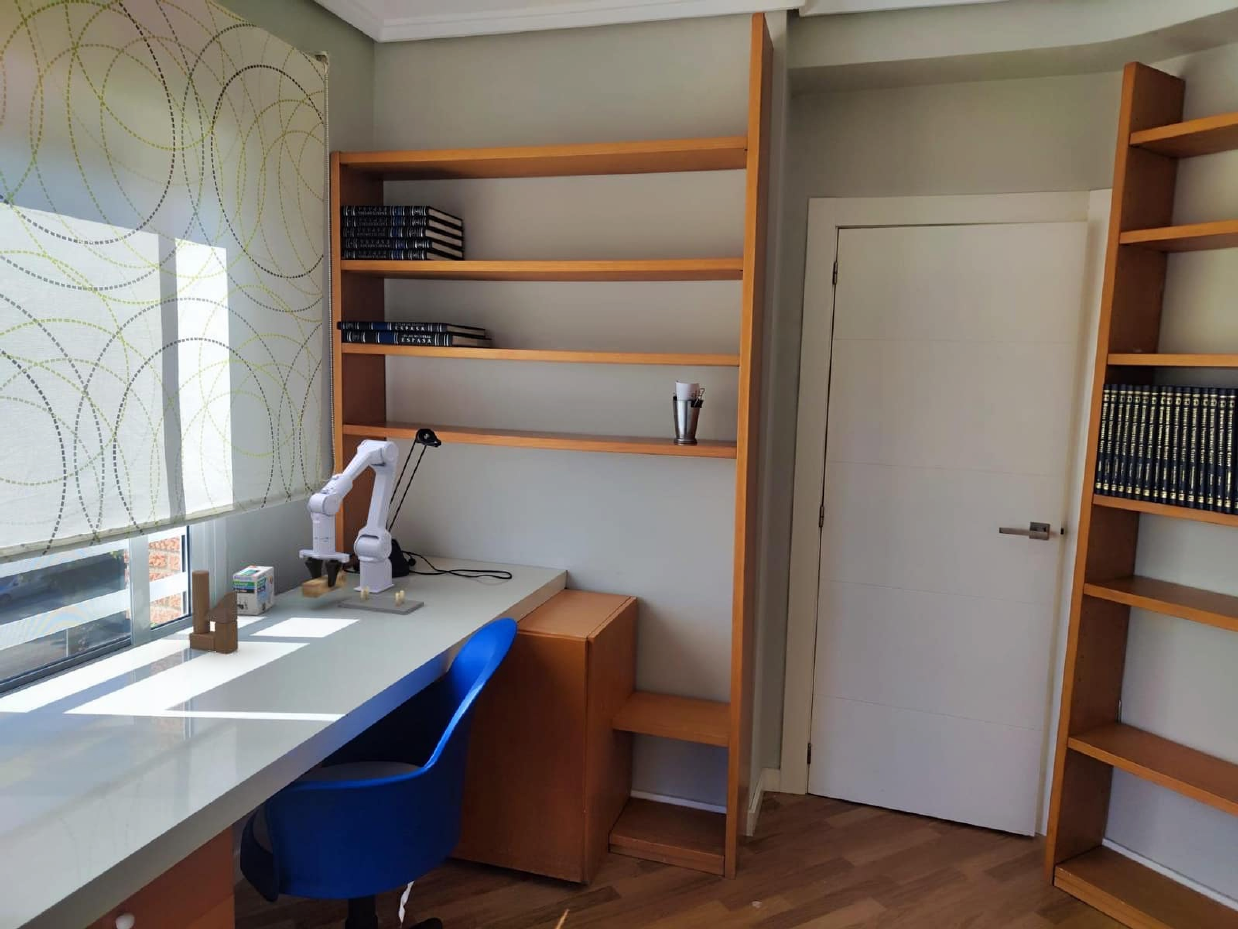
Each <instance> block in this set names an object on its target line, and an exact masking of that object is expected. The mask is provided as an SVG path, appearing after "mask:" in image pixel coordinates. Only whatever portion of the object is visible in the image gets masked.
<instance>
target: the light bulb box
mask: <svg viewBox="0 0 1238 929" xmlns="http://www.w3.org/2000/svg"><path fill="white" fill-rule="evenodd" d="M274 572H275V568H274V566H260V565H249V566H248V567H246V568H243V569H242V570H240V571H239V572H236V573H234V574H232V589H233V590H232V592H233V591H236V590H237V614H238V615H243V616H244V615H247V616H248V615H249V616H259V615H260V614H262V613H264V612H265V611H267V610H268V609H270V608H272V607H273V606H275V573H274Z"/></svg>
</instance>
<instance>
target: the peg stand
mask: <svg viewBox="0 0 1238 929" xmlns="http://www.w3.org/2000/svg"><path fill="white" fill-rule="evenodd" d="M422 605H423V606H424V605H425V602H424V601H422V600H413V599H412V600H411V599H406V598H405V590H400V592H395V597H389V596H380V595H375V594H373V595H372V594H370V592H369V586H366V592H364V588H362V589H361V591H360V594H358V595H356V596H354V597H351V598H348V599H346V600H343V601H342V602H340V604H339V606H341V608H350V609H355V610H356V609H357V610H363V609H364V610H365V611H371V610H372V611H374V612H380V613H386V614H387V613H390V614H394V613H396V614H395V615H402V614H403V615H404V616H406V615H407V613H408V614H410V613H411V612H413V611H415V610H417V609H419V608H421V607H423V606H422ZM420 606H421V607H420ZM403 615H402V616H403Z"/></svg>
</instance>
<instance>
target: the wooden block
mask: <svg viewBox="0 0 1238 929" xmlns="http://www.w3.org/2000/svg"><path fill="white" fill-rule="evenodd" d="M191 586H192V587H191V588H192V590H191V591H192V592H191V594H192V596H191V597H192V623H193V624H192V626H193V631H192V632H190V633H189V648H190V649H195V648H196V650H202V651H207V650H210V651H209V652H213V651H216V653H218V652H220V653H219V654H224V653H225V654H226V655H228V654H230V652H231V653H233V652H235V651H238V650H239V635H238V633H239V632H238V629H239V628H238V627H239V625H238V624H239V623H238V618H239V617H238V615H239V614H237V590H236V591H233V590H232V591H229V592H227V593H224V595H223V596H222V597H221V598H220V599H219V600H218V601H217V603H216V604H215V605H213V607H212V608H211V598H210V597H211V596H210V594H211V593H210V592H211V590H210V571H209V570H206V569H199V570H194V571H192V572H191ZM211 622H212V623H214V630H211ZM237 649H238V650H237ZM234 650H235V651H234ZM225 654H224V655H225Z"/></svg>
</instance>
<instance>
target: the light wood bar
mask: <svg viewBox="0 0 1238 929" xmlns="http://www.w3.org/2000/svg"><path fill="white" fill-rule="evenodd" d="M346 576H347V573H343V572H339V573H338V575H337V579H336V583H335V586H333V587H329V586H328V575H327V574H325V575H321V577H319V578H316V579H311V580H309V581H306V582H304V583H301V597H303V598H310V599H317V598H318V597H319V598H320V597H321V596H324V595H326V594H329V593H332V592H333V591H337V590H339V589H341V588H343V587H346V586H347V577H346Z"/></svg>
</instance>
